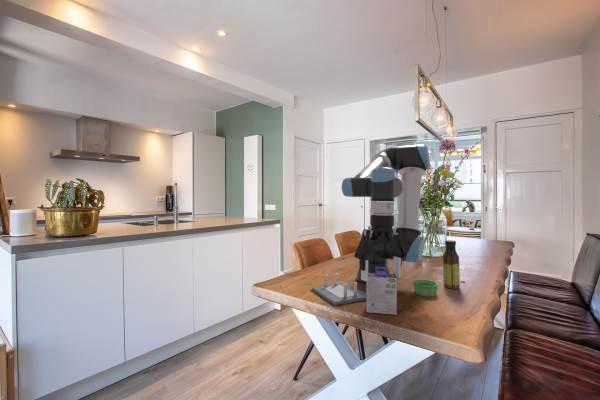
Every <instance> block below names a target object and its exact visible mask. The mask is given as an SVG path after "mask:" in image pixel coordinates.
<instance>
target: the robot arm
mask: <svg viewBox="0 0 600 400" xmlns="http://www.w3.org/2000/svg"><path fill="white" fill-rule="evenodd" d="M430 160H431V159H430V154H429V149H428V147H427V146H426V144H418V143H417V144H414V145H412V144H411V145H400V146H399V145H398V146H391V147H388V148H387V147H386V148H385V149H383V150H381V151H379V152H378V153H376V154H374V156H373V157H372V158H371V160H370V162H369V163H368V164H367V165H366V166H365V167H364V168H363V169H362V170H360V171H359V172H358V173H357V174H356V175H355V176H354V177H352V176H351V177H345V178H343V180H342V182H341V191H342V194H343V196H345V197H346V198H347V197H349V198H350V197H351V198H370V214H371V215H370V226H371V227H370V229H367V228H363V230H362V232H361V233H360V234H361V236H360V241H359V243H358V245H357V248H356V250H355V252H354V256H353V257H354V258H355V259H358V260H359V267H358V269H357V272H356V280H357V281H358V282H360V283H362V284H366V281H368V273H375V271H376V266H378V267H386V269H387V273H388V274H391V273H390V269H389V266H388V260H391V261H393V266H392V268H393V272H392V274H395V275H396V277H397V278H401V277H402V275H401V270H402V266H403V262H406V263H418V262H420V260H421V259H422V258H423V254H424V250H425V242H426V238H425V236H424V235H423V234H422V230H421V229H419V216H420V204H421V203H420V202H421V201H420V200H421V192H422V178H423V177H424V176H425V175H426V173H427V172H426V171H428V170H430V168H431V161H430ZM396 172H398V174H399V175H400V177H401V179H400V178H398V177H396V174H395V173H396ZM397 197H399V203H398V210H397V211H398V212H397V221H396V226H394V225H395V216H394V215H393V214H394V213H395V198H397ZM377 271H385V270H384V269H377Z"/></svg>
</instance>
